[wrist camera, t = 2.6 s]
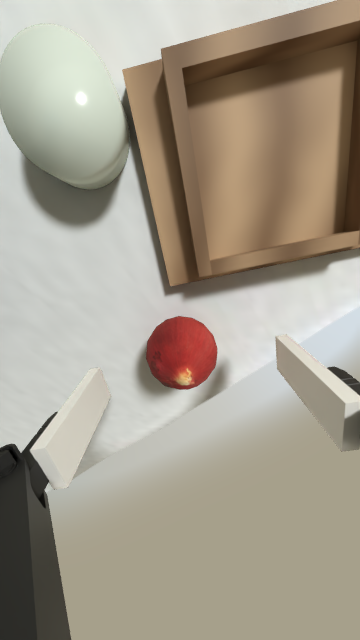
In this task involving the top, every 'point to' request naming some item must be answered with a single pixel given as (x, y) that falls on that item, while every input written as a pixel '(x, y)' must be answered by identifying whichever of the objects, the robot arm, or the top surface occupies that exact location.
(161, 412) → the top surface
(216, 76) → the tray
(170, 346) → the onion
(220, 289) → the top surface
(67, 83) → the pale green dome
